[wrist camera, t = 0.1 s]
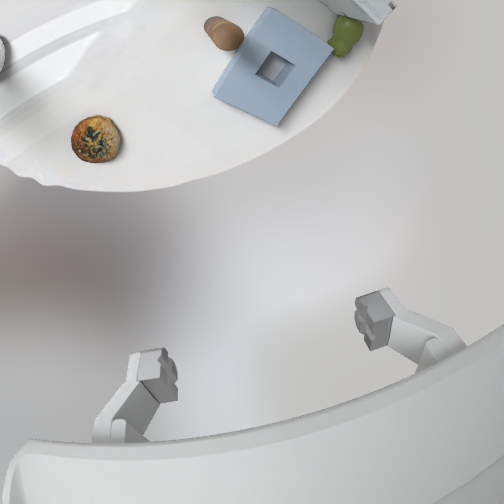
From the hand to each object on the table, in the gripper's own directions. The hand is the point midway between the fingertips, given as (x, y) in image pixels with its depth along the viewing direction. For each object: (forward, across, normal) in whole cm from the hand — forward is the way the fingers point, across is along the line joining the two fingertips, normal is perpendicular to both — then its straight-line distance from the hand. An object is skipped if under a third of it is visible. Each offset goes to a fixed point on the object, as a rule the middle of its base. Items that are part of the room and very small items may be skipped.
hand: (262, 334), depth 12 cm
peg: (+48, -5, -21) cm, 52 cm away
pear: (+50, -29, -17) cm, 60 cm away
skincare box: (+47, -27, -26) cm, 60 cm away
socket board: (+51, -14, -11) cm, 54 cm away
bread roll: (+53, +23, -6) cm, 58 cm away
